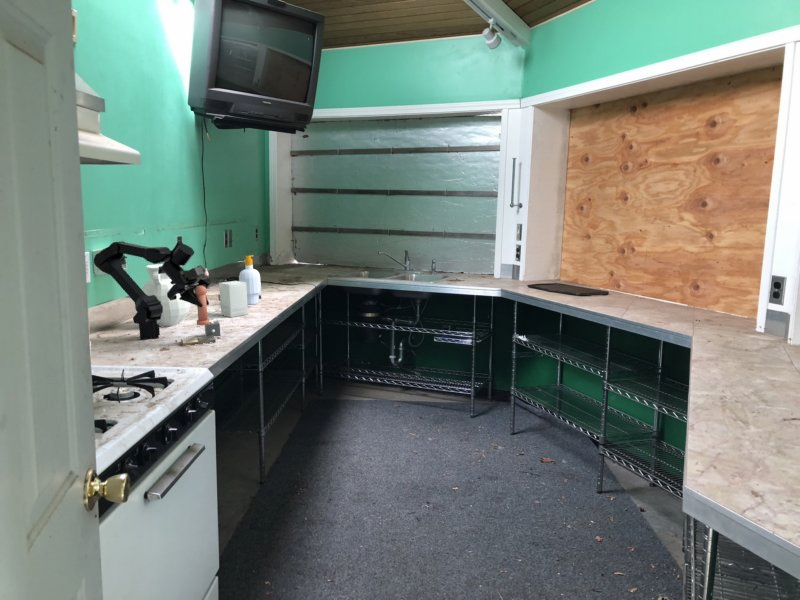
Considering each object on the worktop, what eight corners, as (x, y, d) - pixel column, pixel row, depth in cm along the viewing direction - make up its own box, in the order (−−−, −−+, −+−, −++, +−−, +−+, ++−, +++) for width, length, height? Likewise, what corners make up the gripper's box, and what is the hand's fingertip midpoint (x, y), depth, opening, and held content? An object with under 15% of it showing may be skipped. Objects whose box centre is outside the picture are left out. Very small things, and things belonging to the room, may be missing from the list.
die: (206, 338, 203) (205, 323, 202) (205, 335, 208) (204, 321, 207) (220, 336, 206) (219, 322, 205) (218, 333, 211) (217, 319, 210)
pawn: (197, 325, 195) (194, 286, 192) (196, 323, 198) (193, 285, 196) (210, 324, 196) (207, 286, 194) (209, 322, 200) (206, 284, 198)
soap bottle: (266, 302, 275) (263, 255, 271) (250, 306, 266) (247, 257, 262) (251, 301, 280) (248, 254, 276) (236, 304, 272) (233, 256, 268)
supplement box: (249, 314, 246) (246, 282, 244) (231, 317, 240) (228, 284, 237) (238, 312, 252) (236, 280, 250) (220, 315, 246) (218, 282, 243)
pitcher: (182, 328, 220) (176, 267, 215) (136, 329, 220) (130, 268, 215) (198, 319, 238) (194, 262, 234) (156, 319, 238) (151, 263, 234)
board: (182, 346, 192) (182, 343, 192) (181, 341, 199) (180, 338, 198) (215, 342, 197) (215, 339, 196) (213, 338, 203) (212, 335, 203)
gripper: (171, 261, 186) (200, 294, 184) (205, 256, 203) (232, 286, 202) (154, 283, 189) (183, 316, 188) (189, 276, 207) (216, 306, 206)
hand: (205, 305), depth 196 cm, fingers closed on pawn, 3 cm apart
